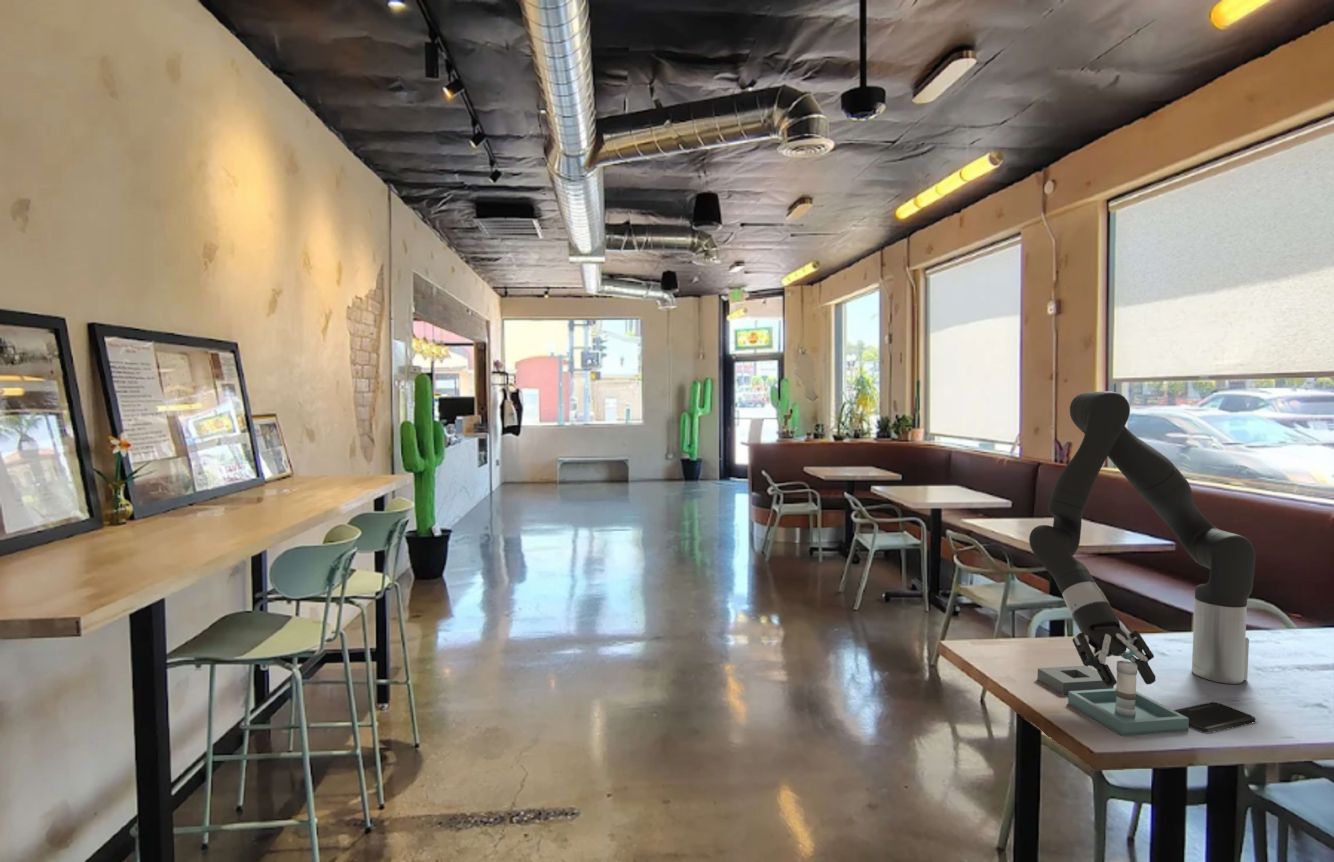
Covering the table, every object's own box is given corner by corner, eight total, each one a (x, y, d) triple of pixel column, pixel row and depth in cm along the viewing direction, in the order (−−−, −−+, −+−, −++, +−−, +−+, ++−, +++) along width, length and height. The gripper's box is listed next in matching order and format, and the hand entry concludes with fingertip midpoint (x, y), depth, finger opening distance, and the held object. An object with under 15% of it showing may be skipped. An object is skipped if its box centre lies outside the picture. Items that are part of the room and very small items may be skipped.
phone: (1258, 718, 134) (1205, 729, 129) (1258, 724, 134) (1205, 735, 129) (1214, 701, 141) (1163, 711, 136) (1214, 706, 141) (1163, 717, 136)
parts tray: (1128, 699, 144) (1128, 687, 143) (1188, 731, 130) (1188, 718, 130) (1068, 703, 141) (1068, 691, 141) (1122, 736, 128) (1123, 723, 128)
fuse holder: (1085, 676, 155) (1085, 665, 155) (1113, 691, 147) (1113, 679, 147) (1037, 679, 154) (1037, 668, 154) (1063, 694, 146) (1063, 682, 146)
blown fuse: (1126, 709, 138) (1127, 660, 137) (1139, 716, 134) (1141, 666, 134) (1110, 710, 137) (1112, 661, 137) (1124, 718, 134) (1126, 667, 133)
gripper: (1069, 601, 141) (1110, 678, 130) (1130, 598, 143) (1176, 674, 132) (1050, 618, 147) (1088, 693, 136) (1109, 615, 149) (1152, 689, 138)
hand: (1132, 684), depth 134 cm, fingers open, 8 cm apart
